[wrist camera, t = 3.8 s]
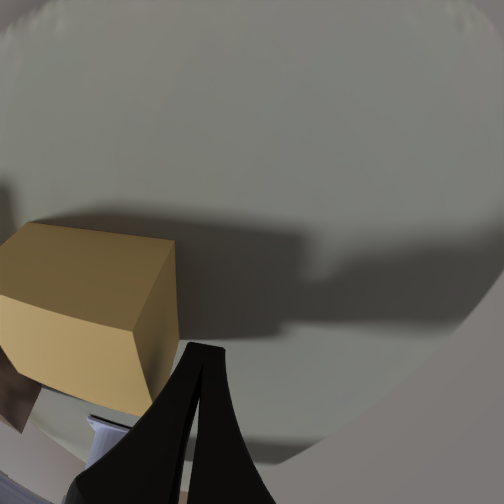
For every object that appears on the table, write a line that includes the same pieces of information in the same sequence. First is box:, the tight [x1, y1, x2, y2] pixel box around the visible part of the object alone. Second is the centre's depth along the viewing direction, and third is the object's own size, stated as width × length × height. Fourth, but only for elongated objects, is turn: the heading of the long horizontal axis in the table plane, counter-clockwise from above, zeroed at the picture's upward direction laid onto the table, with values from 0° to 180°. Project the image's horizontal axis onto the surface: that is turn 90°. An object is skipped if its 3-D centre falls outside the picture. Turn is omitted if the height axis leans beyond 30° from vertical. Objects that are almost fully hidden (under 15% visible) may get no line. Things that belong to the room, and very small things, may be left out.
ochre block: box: [0, 222, 179, 417], centre depth 11 cm, size 6×8×5 cm
